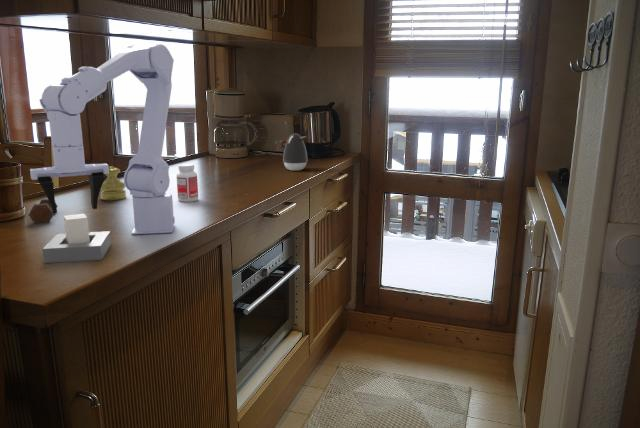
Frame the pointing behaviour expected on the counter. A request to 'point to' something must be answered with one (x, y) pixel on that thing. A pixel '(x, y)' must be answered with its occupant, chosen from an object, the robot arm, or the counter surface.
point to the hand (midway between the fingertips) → (74, 210)
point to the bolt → (41, 212)
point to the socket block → (77, 248)
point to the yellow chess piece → (113, 186)
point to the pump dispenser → (295, 153)
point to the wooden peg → (76, 229)
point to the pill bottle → (187, 183)
